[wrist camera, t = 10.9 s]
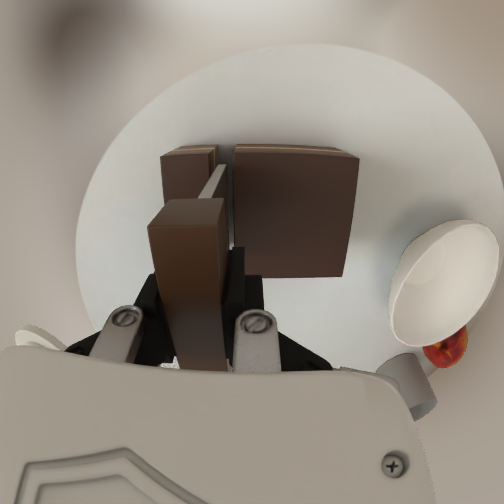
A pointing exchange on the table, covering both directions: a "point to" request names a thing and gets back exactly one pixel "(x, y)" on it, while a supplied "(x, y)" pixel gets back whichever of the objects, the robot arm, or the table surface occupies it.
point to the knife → (194, 272)
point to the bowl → (442, 281)
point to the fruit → (448, 349)
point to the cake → (293, 208)
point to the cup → (411, 384)
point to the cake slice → (187, 171)
